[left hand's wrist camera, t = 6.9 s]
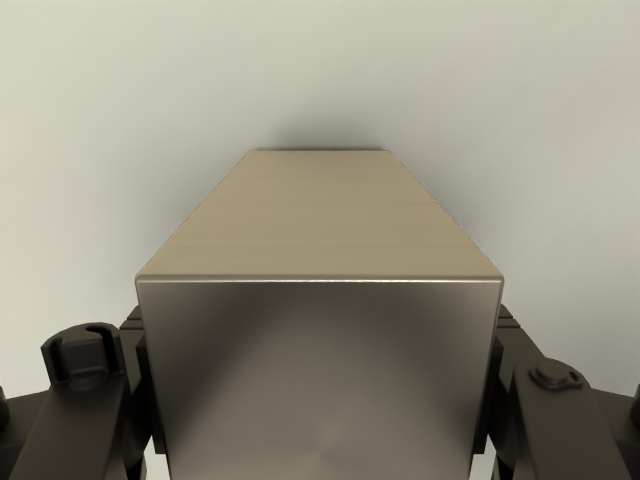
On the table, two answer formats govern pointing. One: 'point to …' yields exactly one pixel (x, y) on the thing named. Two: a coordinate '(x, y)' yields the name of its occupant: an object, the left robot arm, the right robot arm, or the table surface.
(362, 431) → the block
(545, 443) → the left robot arm
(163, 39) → the table surface
